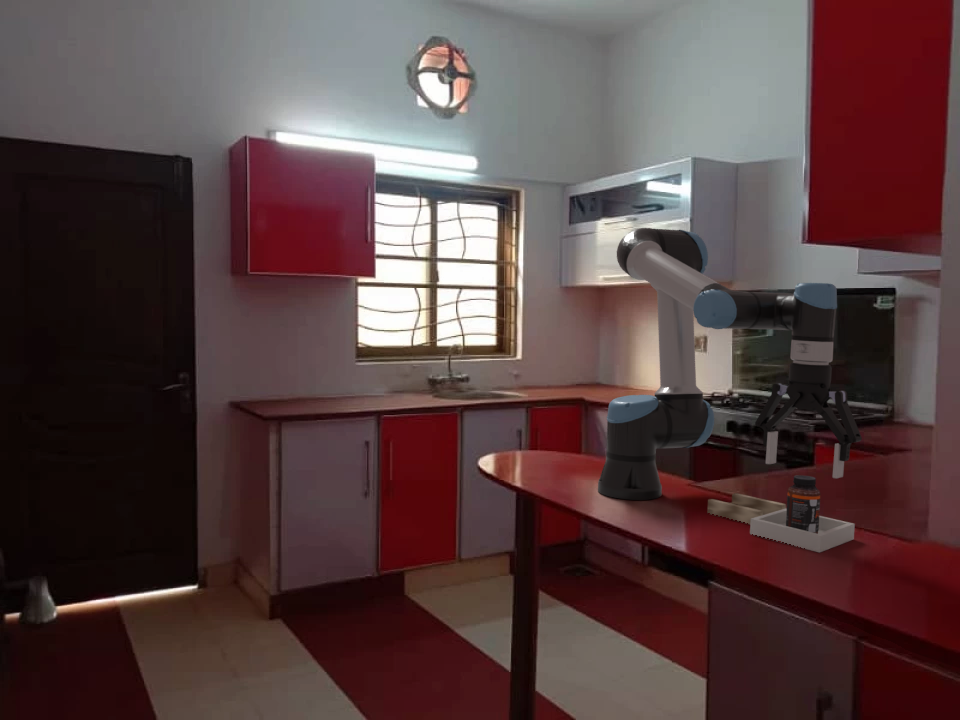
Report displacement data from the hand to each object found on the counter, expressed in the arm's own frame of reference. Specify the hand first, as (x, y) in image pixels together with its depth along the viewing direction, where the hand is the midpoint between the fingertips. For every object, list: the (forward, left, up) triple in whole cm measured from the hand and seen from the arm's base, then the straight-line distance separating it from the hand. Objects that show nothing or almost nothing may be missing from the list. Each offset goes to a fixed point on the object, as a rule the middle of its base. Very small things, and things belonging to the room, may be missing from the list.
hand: (803, 470), depth 146 cm
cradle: (-15, +5, -13) cm, 20 cm away
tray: (0, 0, -13) cm, 13 cm away
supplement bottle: (0, 0, -13) cm, 13 cm away
